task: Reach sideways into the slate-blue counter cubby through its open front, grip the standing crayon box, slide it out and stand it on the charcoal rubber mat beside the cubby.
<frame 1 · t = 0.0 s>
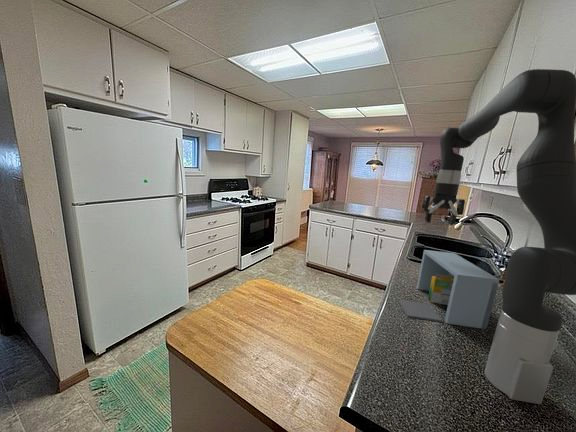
hand: (439, 223, 94), 29 cm above the worktop, tool pointing down, fingers open, 8 cm apart
crayon box: (438, 302, 92), on the worktop
cubby: (445, 305, 90), on the worktop
mat: (418, 310, 84), on the worktop
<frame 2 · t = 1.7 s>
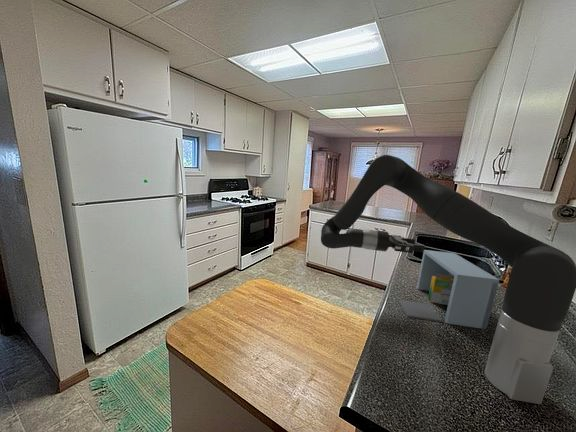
hand: (418, 245, 88), 22 cm above the worktop, tool horizontal, fingers open, 8 cm apart
nothing on the worktop moved.
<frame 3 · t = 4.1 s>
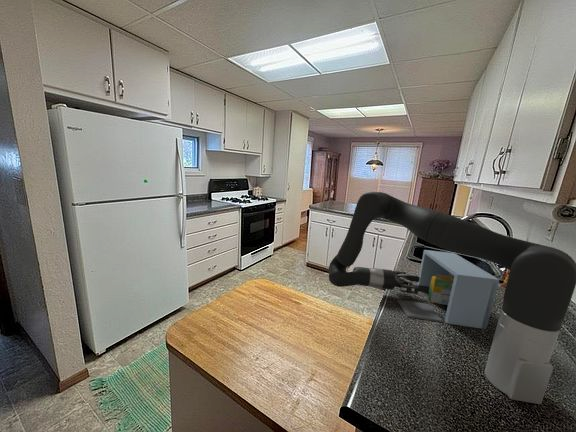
hand: (423, 284, 91), 7 cm above the worktop, tool horizontal, fingers open, 8 cm apart
nothing on the worktop moved.
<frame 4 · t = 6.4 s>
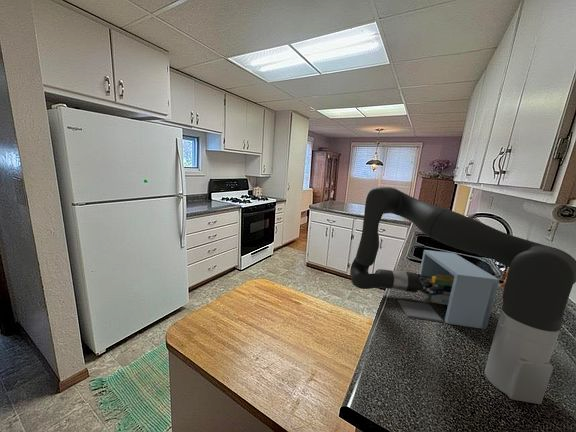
hand: (450, 287, 90), 7 cm above the worktop, tool horizontal, fingers closed on crayon box, 3 cm apart
crayon box: (438, 302, 92), on the worktop, touching gripper
everything else where it was.
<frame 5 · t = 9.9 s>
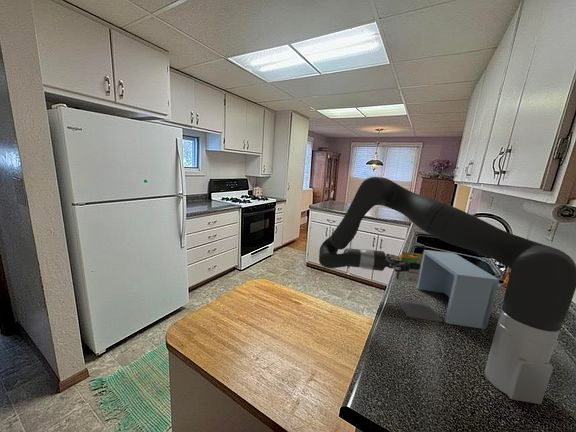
hand: (417, 265, 90), 14 cm above the worktop, tool horizontal, fingers closed on crayon box, 3 cm apart
crayon box: (406, 281, 92), point 7 cm above the worktop, touching gripper
when the fingers open (8 cm above the worktop, at t = 13.5 s): crayon box stays where it is, resting on mat.
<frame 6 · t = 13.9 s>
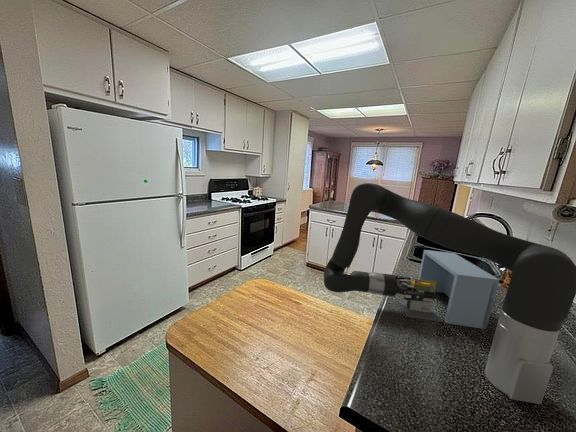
hand: (429, 290, 82), 8 cm above the worktop, tool horizontal, fingers open, 6 cm apart
crayon box: (418, 309, 84), resting on mat
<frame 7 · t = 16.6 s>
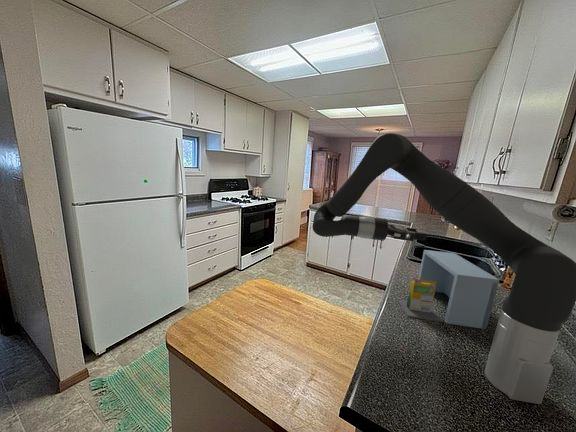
hand: (420, 234, 80), 28 cm above the worktop, tool horizontal, fingers open, 8 cm apart
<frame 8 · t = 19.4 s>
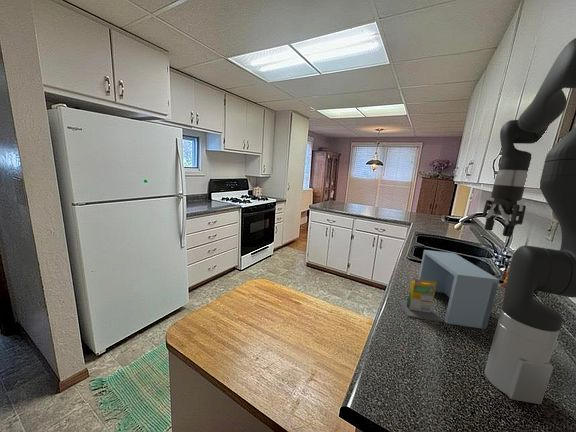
hand: (496, 232, 80), 30 cm above the worktop, tool pointing down, fingers open, 8 cm apart
at the end: crayon box inside the target area on the mat (0.1 cm from its centre), point 0.4 cm above the mat's base; crayon box tilted 0°; the gripper is holding nothing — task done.
